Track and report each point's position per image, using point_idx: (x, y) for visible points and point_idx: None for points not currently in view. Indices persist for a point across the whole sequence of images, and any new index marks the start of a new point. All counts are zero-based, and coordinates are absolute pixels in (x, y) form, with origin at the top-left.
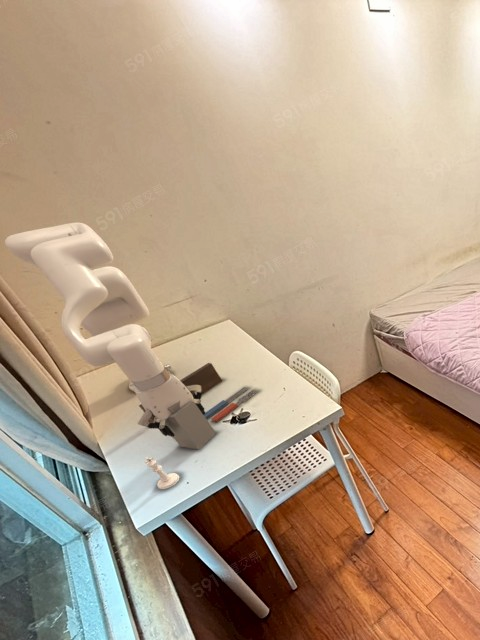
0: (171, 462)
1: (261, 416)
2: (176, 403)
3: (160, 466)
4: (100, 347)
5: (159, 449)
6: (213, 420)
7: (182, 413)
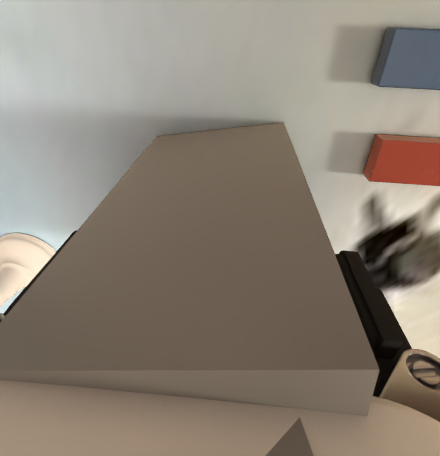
0: (78, 186)
1: (408, 323)
2: None
3: None
4: None
5: (83, 15)
6: (374, 148)
7: None
